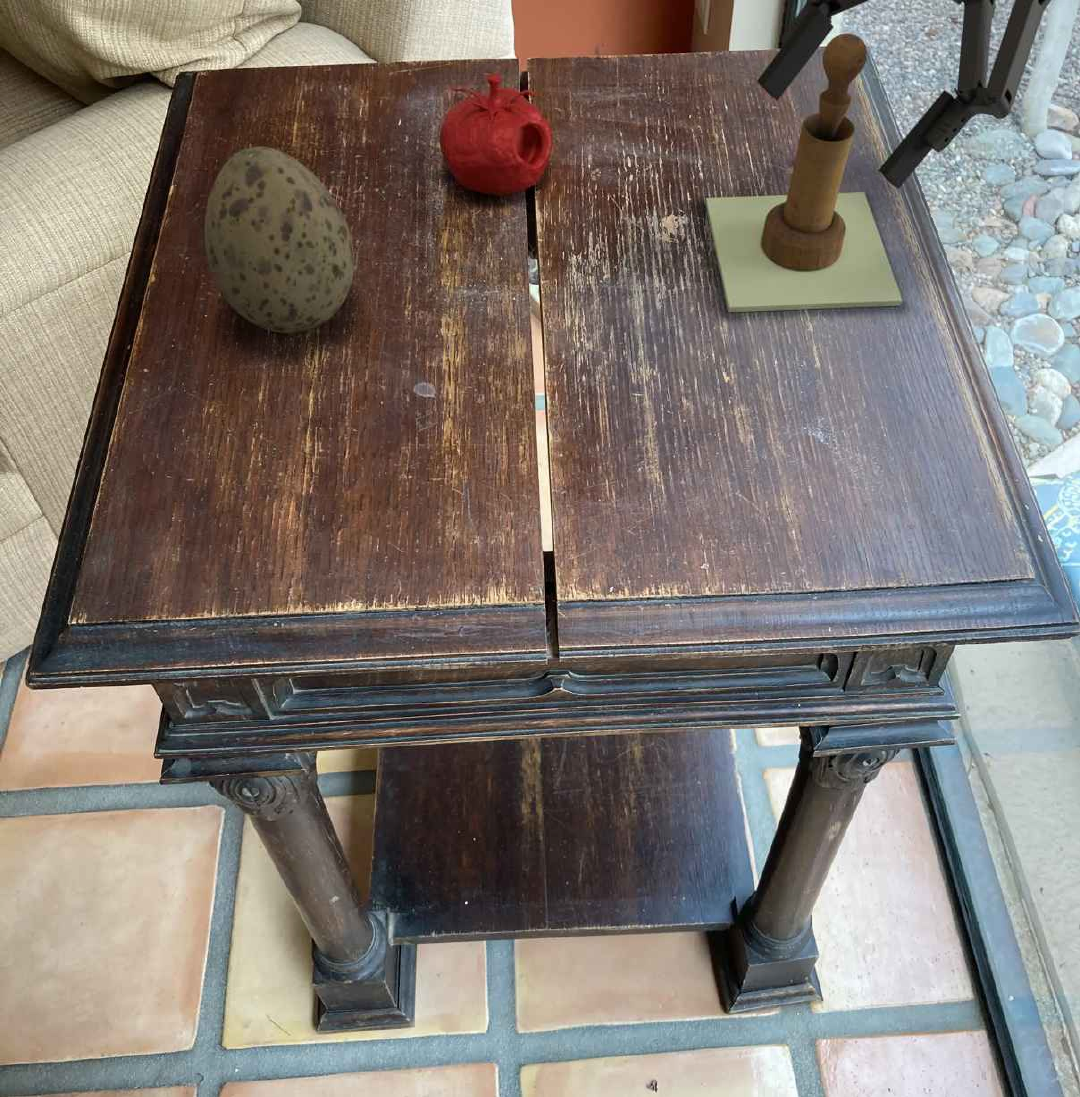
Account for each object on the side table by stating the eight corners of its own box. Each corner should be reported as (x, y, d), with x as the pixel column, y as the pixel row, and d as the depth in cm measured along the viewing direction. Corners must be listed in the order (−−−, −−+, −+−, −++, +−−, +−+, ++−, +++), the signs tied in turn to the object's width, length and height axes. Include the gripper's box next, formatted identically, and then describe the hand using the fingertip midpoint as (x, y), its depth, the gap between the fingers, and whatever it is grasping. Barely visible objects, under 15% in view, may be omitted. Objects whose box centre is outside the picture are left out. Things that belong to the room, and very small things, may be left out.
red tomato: (437, 208, 93) (426, 112, 85) (449, 141, 98) (440, 45, 91) (549, 211, 92) (548, 115, 84) (555, 143, 98) (555, 47, 90)
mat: (900, 305, 85) (902, 300, 84) (727, 312, 84) (728, 306, 84) (862, 197, 93) (864, 191, 92) (704, 203, 92) (705, 197, 92)
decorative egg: (210, 304, 86) (152, 140, 74) (329, 256, 89) (293, 92, 77) (264, 384, 81) (211, 222, 68) (388, 330, 84) (359, 166, 71)
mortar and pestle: (845, 229, 89) (901, 21, 75) (835, 278, 86) (893, 70, 71) (767, 216, 90) (808, 8, 76) (754, 264, 87) (794, 56, 72)
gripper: (1199, -32, 68) (960, 239, 76) (924, -166, 80) (743, 78, 88) (1186, -98, 62) (928, 202, 70) (891, -233, 75) (699, 36, 82)
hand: (824, 134), depth 79 cm, fingers open, 13 cm apart
